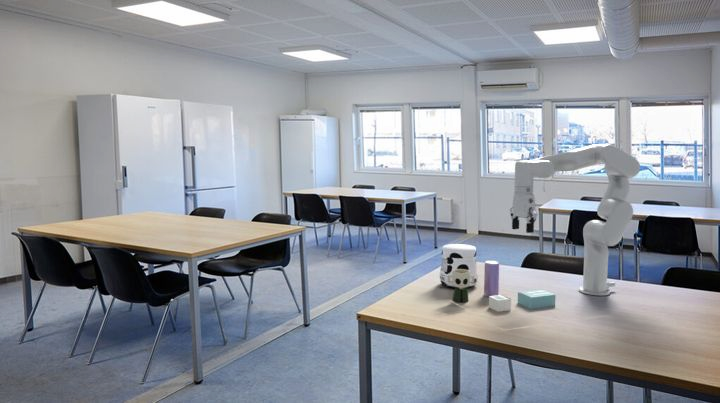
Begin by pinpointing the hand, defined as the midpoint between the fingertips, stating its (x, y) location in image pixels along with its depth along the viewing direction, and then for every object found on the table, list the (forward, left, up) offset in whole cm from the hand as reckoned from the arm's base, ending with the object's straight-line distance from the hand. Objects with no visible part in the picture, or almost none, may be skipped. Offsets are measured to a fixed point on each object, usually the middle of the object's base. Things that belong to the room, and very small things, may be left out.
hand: (522, 230), depth 226 cm
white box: (+19, +13, -28) cm, 36 cm away
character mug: (+28, -2, -28) cm, 40 cm away
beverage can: (+12, -4, -28) cm, 31 cm away
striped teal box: (+2, +13, -28) cm, 31 cm away
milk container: (+16, -24, -29) cm, 41 cm away
